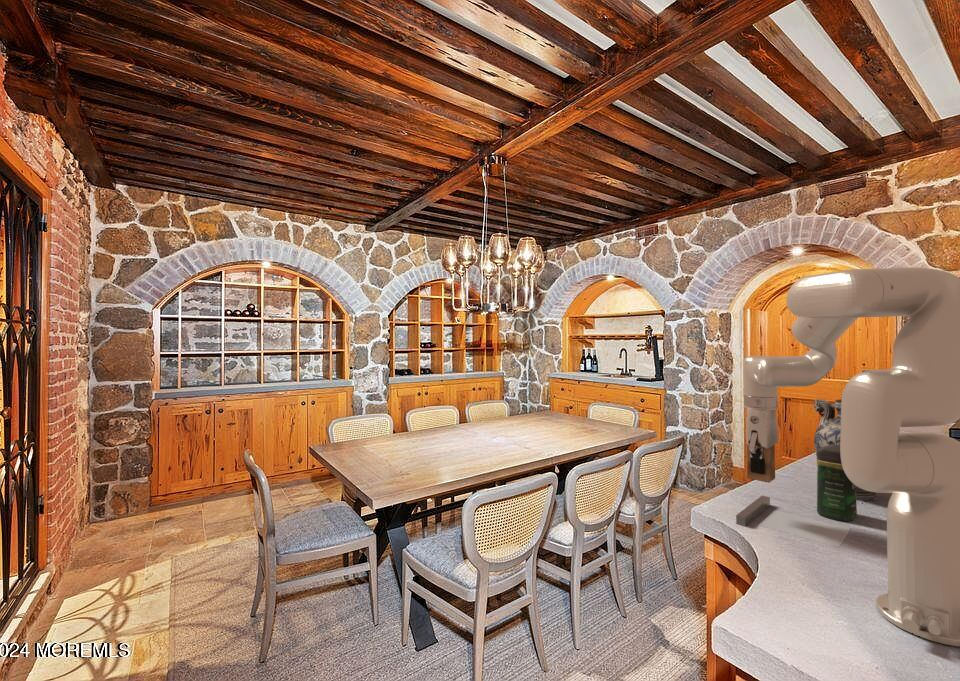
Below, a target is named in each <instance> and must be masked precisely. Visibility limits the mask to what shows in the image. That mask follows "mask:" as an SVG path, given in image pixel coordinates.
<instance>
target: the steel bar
mask: <svg viewBox="0 0 960 681" xmlns="http://www.w3.org/2000/svg"><path fill="white" fill-rule="evenodd" d="M770 506H771V497H770V496H767V495H760V496H759V497H758V498H756V499H755V500H754V501H752V503H750V504H749V505H747V507H745V508H744V509H742V510H741V511H739V512H738V513H737V514H736V515H735V517H736V518H735V519H736V520H735V522H736V525H739V526H741V527H746V526H748V524H750V523H751V522H753V520H755V519H756V518H757V517H758V516H759V515H760V514H762V513H763V512H764V511H765V510H766V509H768V508H769V507H770Z"/></svg>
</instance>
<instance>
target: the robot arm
mask: <svg viewBox="0 0 960 681" xmlns="http://www.w3.org/2000/svg"><path fill="white" fill-rule="evenodd" d="M785 301H786V306H787V309H788V311H789V312H790V313H791V314H792V315H794V316H796V317H797V318H796V319H795V321H794V322H793V323H792V324H791V333H792V335H793V337H794V338H795V339H796V340H797V341H798V342H799V343H800V344H802V345H803V346H805V347H807V348H809V350H808V351H807V352H806V353H805V354H803V355H794V356H793V355H789V356H787V355H786V356H769V355H748V356H745V358H744V359H743V408H745V409H746V426H745V431H746V432H745V434H746V435H745V438H746V445H747V444H748V445H749V450H750V469H751V472H752V473H757V474H762V475H764V474H765V459H763V456H764V447H765V448H766V449H768V448H770V447H771V446H773V445H775V446H776V444H778V442H779V433H778V431H779V430H778V419H777V418H778V417H777V411H776V410H778V408H779V407H778V406H779V403H778V401H779V400H778V395H779V394H778V388H785V387H786V388H787V387H789V388H791V387H794V388H795V387H796V388H797V387H800V388H801V387H809V386H813V385H815V384H817V383H818V382H820V381H821V380H822V379H824V378H825V377H826V376H827V375H828V374H829V373H830V372H831V370H832V369H833V368H834V367H835V365H836V362H837V358H838V350H837V345H836V342H837V341H838V340H839V338H841V337H842V336H843V335H844V333H845V332H846V331H848V329H849V328H851V326H852V325H853V324H854V323H855V322H856V321H857V319H859V318H885V317H886V318H887V317H905V318H908V320H907V321H906V322H905V323H904V325H902V327H901V328H900V330H899V331H898V333H897V335H896V337H895V340H894V343H893V346H892V349H893V350H892V351H893V352H892V353H893V356H892V366H891V367H890V369H889V368H888V369H871V370H870V369H869V370H865V371H861V372H859V373H856V374H855V375H854V376H852V377H851V378H850V379H849V380H848V381H847V383H846V384H845V387H844V388H843V391H842V395H841V399H840V400H841V433H840V456H841V463H842V467H843V470H844V472H845V474H846V476H847V477H848V478H849V480H850V481H851V482H852V483H853V484H854V485H856V486H857V487H859V488H861V489H863V490H866V491H870V492H875V493H881V494H883V493H884V494H887V493H889V494H891V493H892V494H891V495H890V498H889V500H888V504H887V509H886V537H887V538H886V548H887V550H886V551H887V552H886V553H887V556H886V557H887V593H883V594H880V595H878V596H877V598H876V599H875V606H876V609H877V611H878V612H879V613H880V615H881V616H883V618H885V619H886V620H887V621H889V623H891V624H893V625H894V626H897V627H898V628H900V629H901V630H904V631H906V632H908V633H910V634H912V633H913V634H912V635H914V636H917V637H919V636H920V637H919V638H922V639H925V640H928V641H930V642H935V643H938V644H942V645H946V646H947V645H948V646H952V647H960V441H959V440H957V439H955V438H953V437H950V436H948V435H945V434H940V433H933V432H900V428H912V427H913V428H916V427H917V428H921V427H922V428H923V427H936V426H937V427H940V426H947V425H950V424H951V425H952V424H954V423H955V422H957V421H959V420H960V277H959V276H957V275H955V274H954V273H951V272H949V271H945V270H941V269H938V268H937V269H936V268H929V267H928V268H927V267H891V268H890V267H888V268H860V269H859V268H858V269H855V268H853V269H844V270H839V271H831V272H826V273H825V272H824V273H819V274H813V275H811V274H810V275H806V276H803V277H800V278H799V279H797V280H795V281H794V282H793V284H792V285H791V286H790V288H789V289H788V291H787V293H786V300H785ZM749 442H750V443H749ZM757 444H761V447H760V446H757ZM757 449H760V452H759V450H757Z"/></svg>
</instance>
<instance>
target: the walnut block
mask: <svg viewBox="0 0 960 681" xmlns="http://www.w3.org/2000/svg"><path fill="white" fill-rule="evenodd" d="M749 443H750V442H749ZM757 446H760V447H761V444H757ZM757 450H759V452H760V449H757ZM746 456H747V457H746V460H747V461H746V464H747V467H746V468H747V472H746V473H747V479H750V480H753V481H758V482H764V483H768V484H769V483H771V482H772V481H775V479H776V444H775V445H773V446H771V447H770V448H768V449H766V448H765V447H764V456H763V459H765V474H764V475H762V474H757V473H752V472H751V469H750V450H749V445H748V444H747V443H746Z"/></svg>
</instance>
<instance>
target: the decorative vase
mask: <svg viewBox="0 0 960 681" xmlns="http://www.w3.org/2000/svg"><path fill="white" fill-rule="evenodd" d="M841 400H842V399H835V401H834V403H831V402H829V401H828V400H826V399H823V398H819V399H815V400H814V401H813V406H814V412H816V413H817V412H818V414H819V416H821V417H820V420H819V424H818V427H817V429H816V431H815V433H814V437H813V439H814V441H813V444H814V451H815V455H816V456H817V450H818V449H820V448H821V447H824V446H828V445H830V444H835V445H840V433H841ZM878 499H879V495H878V492H870V491H866V490H863V489H861V488H859V487H857V486H856V501H858V500H859V501H868V500H870V501H876V500H878Z"/></svg>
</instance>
